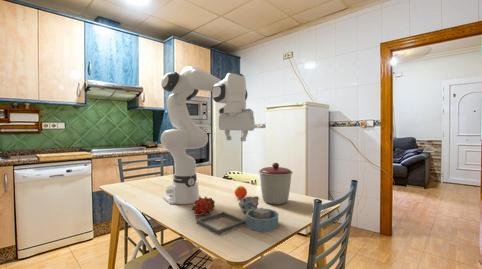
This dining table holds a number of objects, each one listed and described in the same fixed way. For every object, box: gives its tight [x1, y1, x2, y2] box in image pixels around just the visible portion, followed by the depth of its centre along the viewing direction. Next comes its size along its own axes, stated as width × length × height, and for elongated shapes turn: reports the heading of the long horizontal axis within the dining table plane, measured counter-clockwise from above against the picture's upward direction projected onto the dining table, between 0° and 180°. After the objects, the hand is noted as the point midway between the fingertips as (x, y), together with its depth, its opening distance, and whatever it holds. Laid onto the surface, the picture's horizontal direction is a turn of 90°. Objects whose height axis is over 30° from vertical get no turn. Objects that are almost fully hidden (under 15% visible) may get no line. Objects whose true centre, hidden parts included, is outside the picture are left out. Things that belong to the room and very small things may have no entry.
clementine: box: [234, 185, 248, 200], centre depth 135 cm, size 8×7×7 cm
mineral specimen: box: [238, 195, 260, 213], centre depth 117 cm, size 10×8×10 cm
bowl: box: [245, 207, 279, 232], centre depth 100 cm, size 13×13×4 cm
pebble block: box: [253, 207, 271, 219], centre depth 100 cm, size 5×5×5 cm
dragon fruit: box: [191, 196, 216, 217], centre depth 111 cm, size 8×8×12 cm
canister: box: [258, 162, 294, 206], centre depth 130 cm, size 18×18×21 cm
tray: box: [196, 211, 246, 236], centre depth 100 cm, size 14×14×2 cm
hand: (235, 140), depth 107 cm, fingers open, 8 cm apart
